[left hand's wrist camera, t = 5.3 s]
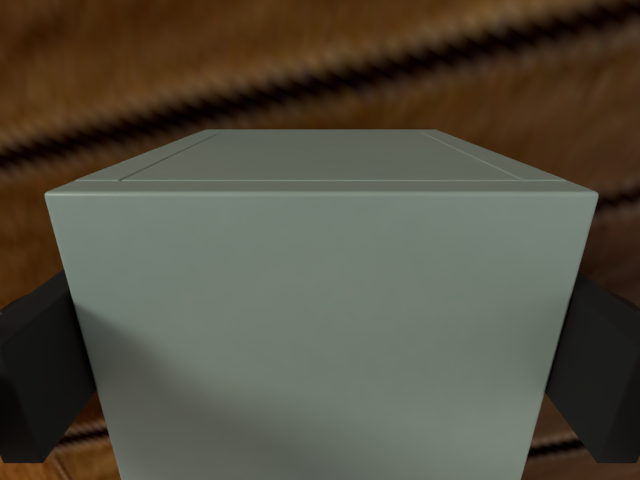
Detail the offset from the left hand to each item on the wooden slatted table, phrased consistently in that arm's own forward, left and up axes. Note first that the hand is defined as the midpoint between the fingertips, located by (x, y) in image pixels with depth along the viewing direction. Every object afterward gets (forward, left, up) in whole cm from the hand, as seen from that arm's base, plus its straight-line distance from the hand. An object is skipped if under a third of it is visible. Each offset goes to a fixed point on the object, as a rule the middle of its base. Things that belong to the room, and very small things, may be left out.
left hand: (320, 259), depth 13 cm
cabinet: (+1, +4, -6) cm, 8 cm away
